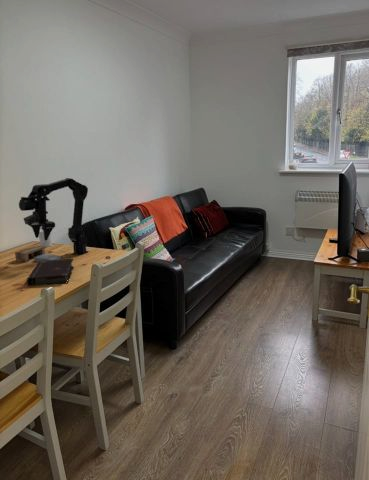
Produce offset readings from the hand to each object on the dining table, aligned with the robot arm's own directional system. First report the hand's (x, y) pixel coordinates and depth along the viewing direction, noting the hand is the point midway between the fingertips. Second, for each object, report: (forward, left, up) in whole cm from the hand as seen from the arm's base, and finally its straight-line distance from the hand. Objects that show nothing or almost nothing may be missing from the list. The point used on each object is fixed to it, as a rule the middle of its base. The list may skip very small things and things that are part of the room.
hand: (41, 239), depth 207 cm
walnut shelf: (+13, -5, -13) cm, 19 cm away
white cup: (+23, -29, -13) cm, 40 cm away
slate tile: (+1, -5, -14) cm, 15 cm away
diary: (-19, +15, -14) cm, 28 cm away
